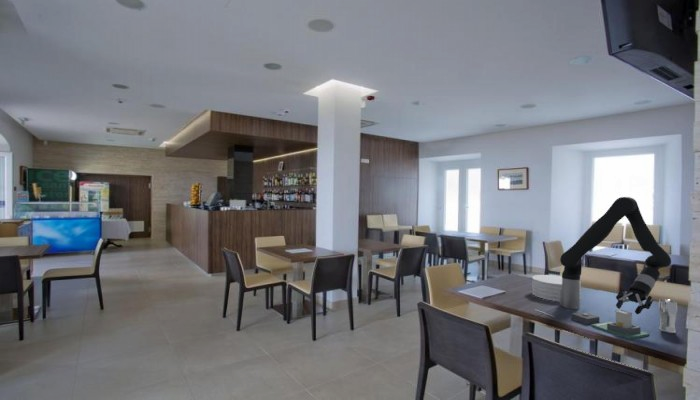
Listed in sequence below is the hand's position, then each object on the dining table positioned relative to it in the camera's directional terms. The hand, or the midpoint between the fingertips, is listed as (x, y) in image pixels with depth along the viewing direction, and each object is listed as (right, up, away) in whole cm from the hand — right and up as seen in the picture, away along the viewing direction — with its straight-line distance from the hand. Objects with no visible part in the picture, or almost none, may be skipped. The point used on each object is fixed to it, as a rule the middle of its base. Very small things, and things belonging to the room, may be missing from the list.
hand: (626, 310), depth 176 cm
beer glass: (+21, -11, +2) cm, 24 cm away
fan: (-11, -10, +15) cm, 21 cm away
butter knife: (-23, -11, +21) cm, 33 cm away
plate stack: (+1, -10, +62) cm, 63 cm away
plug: (-2, -9, -1) cm, 10 cm away
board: (-3, -10, +1) cm, 11 cm away
